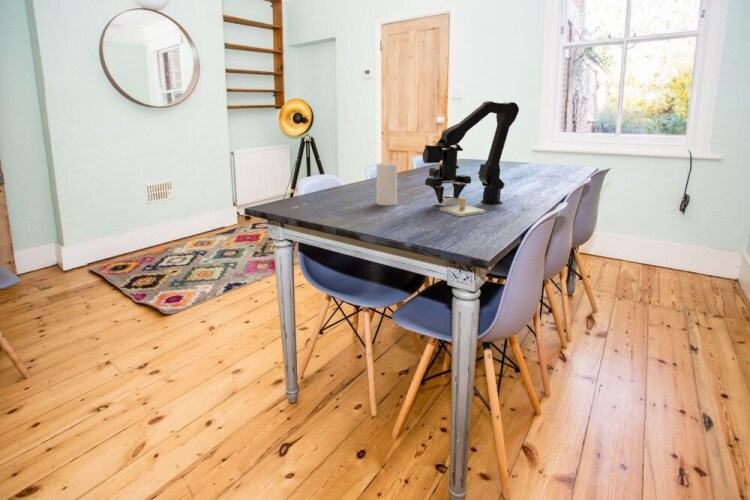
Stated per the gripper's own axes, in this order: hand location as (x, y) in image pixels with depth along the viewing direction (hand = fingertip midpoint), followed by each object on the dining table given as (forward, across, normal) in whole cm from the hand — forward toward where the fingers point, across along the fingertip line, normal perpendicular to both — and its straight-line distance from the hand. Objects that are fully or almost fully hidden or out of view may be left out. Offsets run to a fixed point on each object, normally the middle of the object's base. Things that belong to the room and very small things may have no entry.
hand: (447, 202), depth 182 cm
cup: (+2, +19, -15) cm, 24 cm away
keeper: (+1, +2, +12) cm, 12 cm away
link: (+1, 0, 0) cm, 1 cm away
